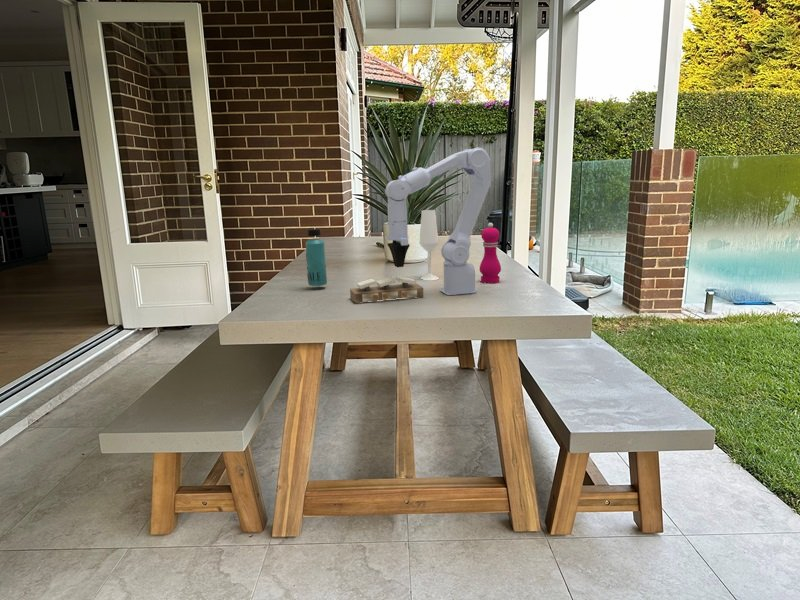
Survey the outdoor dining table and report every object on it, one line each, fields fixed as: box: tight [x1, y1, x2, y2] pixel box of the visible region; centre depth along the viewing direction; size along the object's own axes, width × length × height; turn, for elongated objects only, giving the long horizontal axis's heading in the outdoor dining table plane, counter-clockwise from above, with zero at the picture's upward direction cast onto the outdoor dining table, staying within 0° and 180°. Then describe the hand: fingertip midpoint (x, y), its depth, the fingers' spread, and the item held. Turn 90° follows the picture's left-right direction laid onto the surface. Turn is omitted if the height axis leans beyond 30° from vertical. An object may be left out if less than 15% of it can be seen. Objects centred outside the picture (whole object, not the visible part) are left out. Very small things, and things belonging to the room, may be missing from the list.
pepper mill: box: [479, 222, 502, 284], centre depth 185 cm, size 7×7×20 cm
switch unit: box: [349, 282, 424, 304], centre depth 167 cm, size 21×8×4 cm, turn 106°
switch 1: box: [356, 277, 377, 289], centre depth 165 cm, size 5×4×1 cm
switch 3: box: [395, 276, 416, 284], centre depth 168 cm, size 5×4×1 cm
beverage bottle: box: [305, 228, 328, 287], centre depth 183 cm, size 6×7×20 cm
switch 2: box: [375, 276, 397, 287], centre depth 167 cm, size 5×4×1 cm
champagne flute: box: [419, 209, 440, 281], centre depth 193 cm, size 7×7×24 cm
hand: (399, 266), depth 167 cm, fingers closed
